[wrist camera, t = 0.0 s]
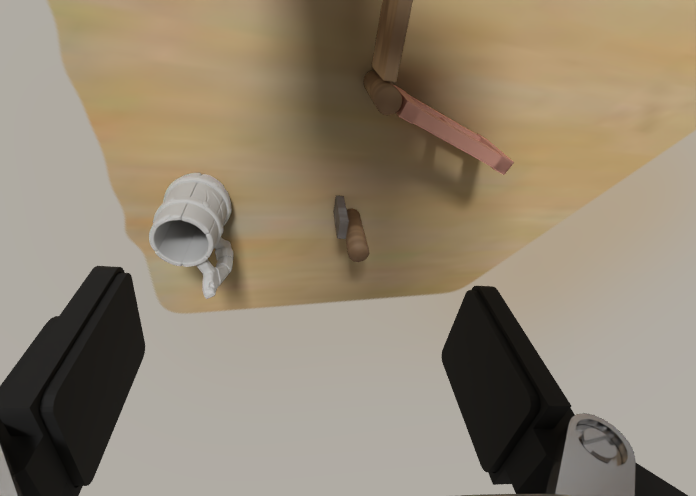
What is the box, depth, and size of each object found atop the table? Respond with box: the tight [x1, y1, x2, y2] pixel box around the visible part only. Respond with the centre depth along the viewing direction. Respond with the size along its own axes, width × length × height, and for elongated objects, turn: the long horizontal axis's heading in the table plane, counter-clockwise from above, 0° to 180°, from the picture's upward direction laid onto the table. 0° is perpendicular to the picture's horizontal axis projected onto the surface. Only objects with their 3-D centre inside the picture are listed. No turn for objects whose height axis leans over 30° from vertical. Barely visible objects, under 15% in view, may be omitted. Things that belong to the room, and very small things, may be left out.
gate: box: [393, 84, 514, 175], centre depth 42 cm, size 14×2×7 cm, turn 62°
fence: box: [334, 0, 413, 262], centre depth 42 cm, size 26×4×8 cm, turn 172°
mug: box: [149, 173, 233, 299], centre depth 45 cm, size 8×12×12 cm, turn 21°
